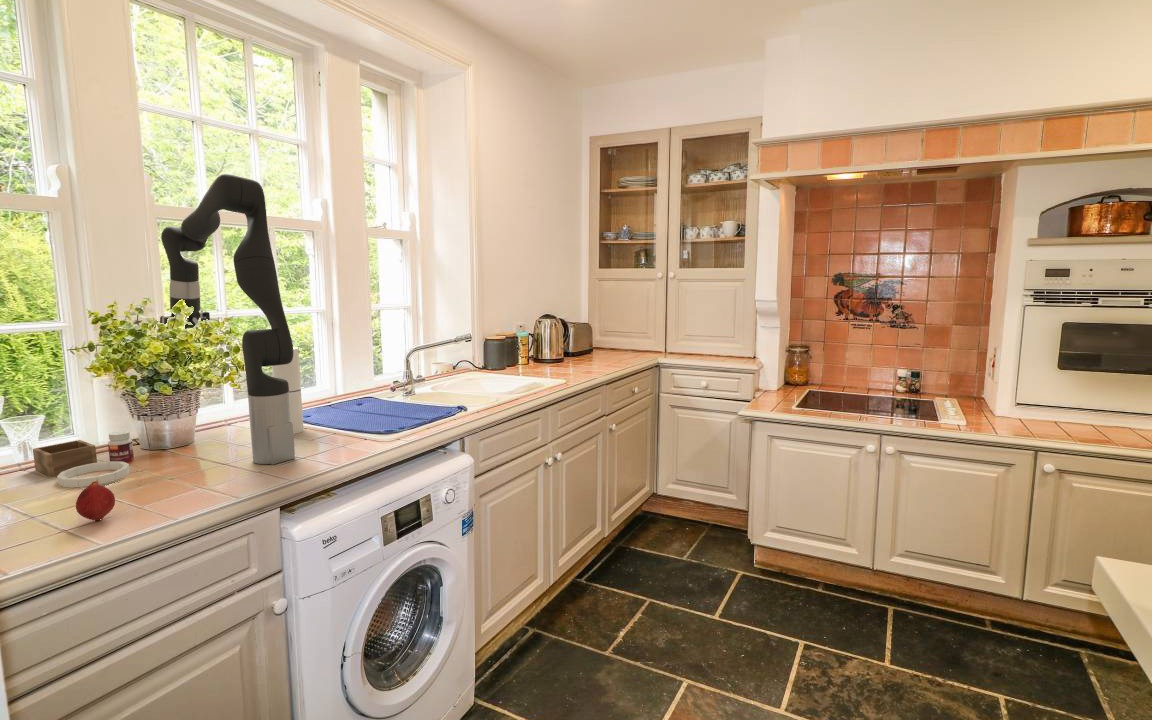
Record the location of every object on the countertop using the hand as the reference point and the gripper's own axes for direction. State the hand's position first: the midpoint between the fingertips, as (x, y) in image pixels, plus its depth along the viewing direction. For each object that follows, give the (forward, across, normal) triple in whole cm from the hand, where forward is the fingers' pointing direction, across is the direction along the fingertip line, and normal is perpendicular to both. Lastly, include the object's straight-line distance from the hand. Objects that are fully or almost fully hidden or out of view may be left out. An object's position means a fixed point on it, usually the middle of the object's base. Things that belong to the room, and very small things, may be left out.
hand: (186, 347), depth 179 cm
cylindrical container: (+19, +4, -36) cm, 41 cm away
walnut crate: (+19, -42, -16) cm, 49 cm away
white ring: (+17, -44, -28) cm, 55 cm away
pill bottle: (+19, -35, -23) cm, 46 cm away
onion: (+12, -58, -52) cm, 79 cm away
